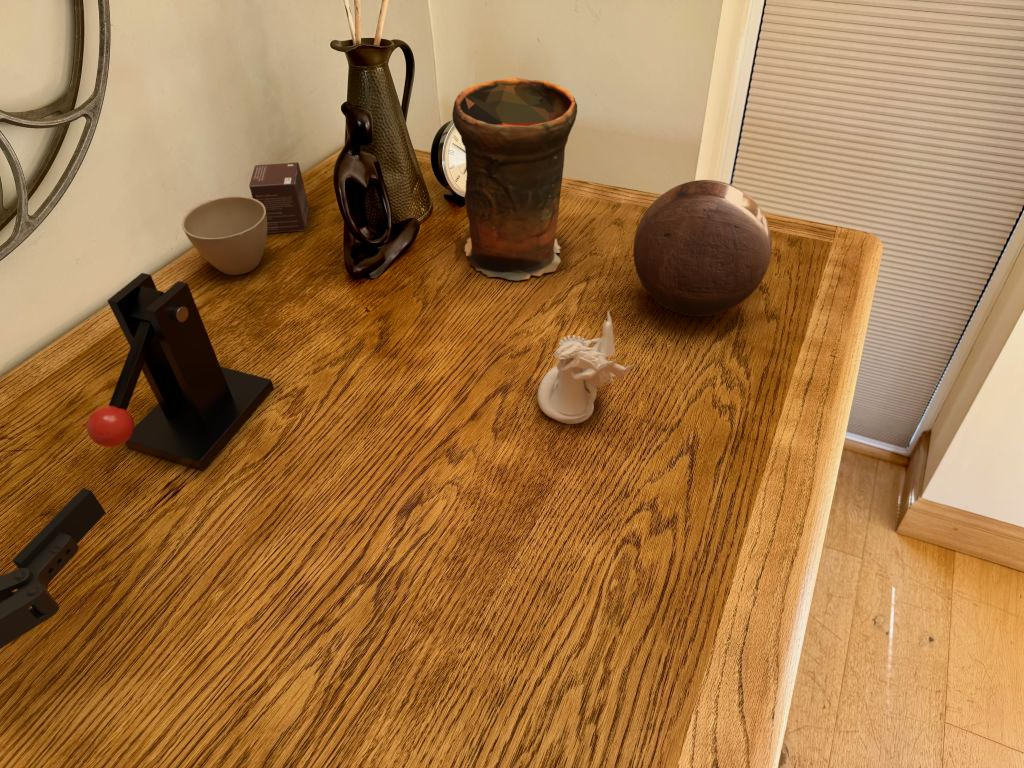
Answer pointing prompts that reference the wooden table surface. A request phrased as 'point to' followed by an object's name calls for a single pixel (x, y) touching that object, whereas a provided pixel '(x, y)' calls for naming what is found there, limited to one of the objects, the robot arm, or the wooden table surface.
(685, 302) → the wooden sphere
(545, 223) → the vessel
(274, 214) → the box
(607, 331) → the figurine
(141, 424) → the lever base
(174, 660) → the wooden table surface
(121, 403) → the switch
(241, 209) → the flower pot
